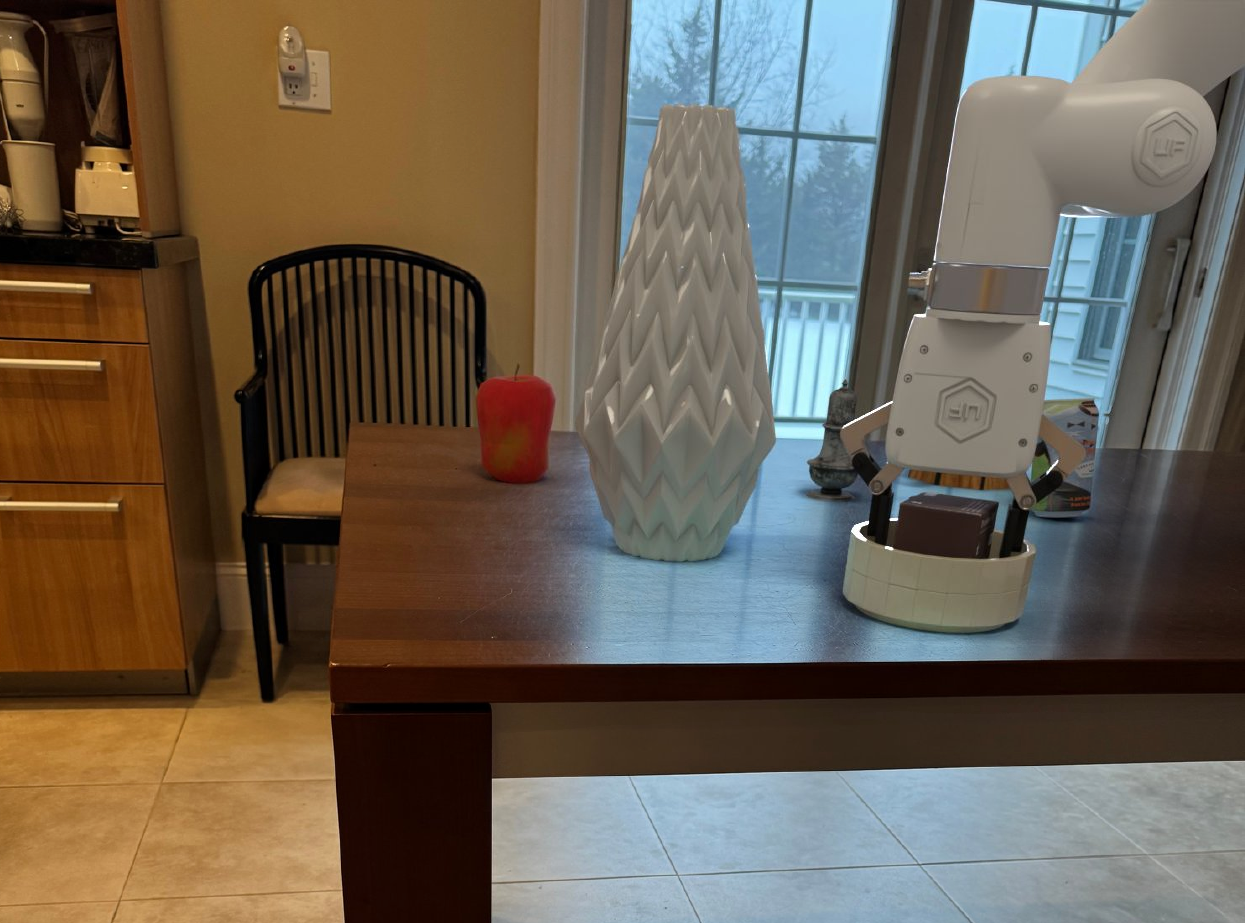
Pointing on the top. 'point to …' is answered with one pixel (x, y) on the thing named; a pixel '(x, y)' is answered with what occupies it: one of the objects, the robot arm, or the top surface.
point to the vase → (682, 353)
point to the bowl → (936, 585)
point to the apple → (515, 426)
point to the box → (946, 526)
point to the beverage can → (1077, 487)
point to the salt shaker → (834, 450)
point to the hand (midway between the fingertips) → (940, 553)
